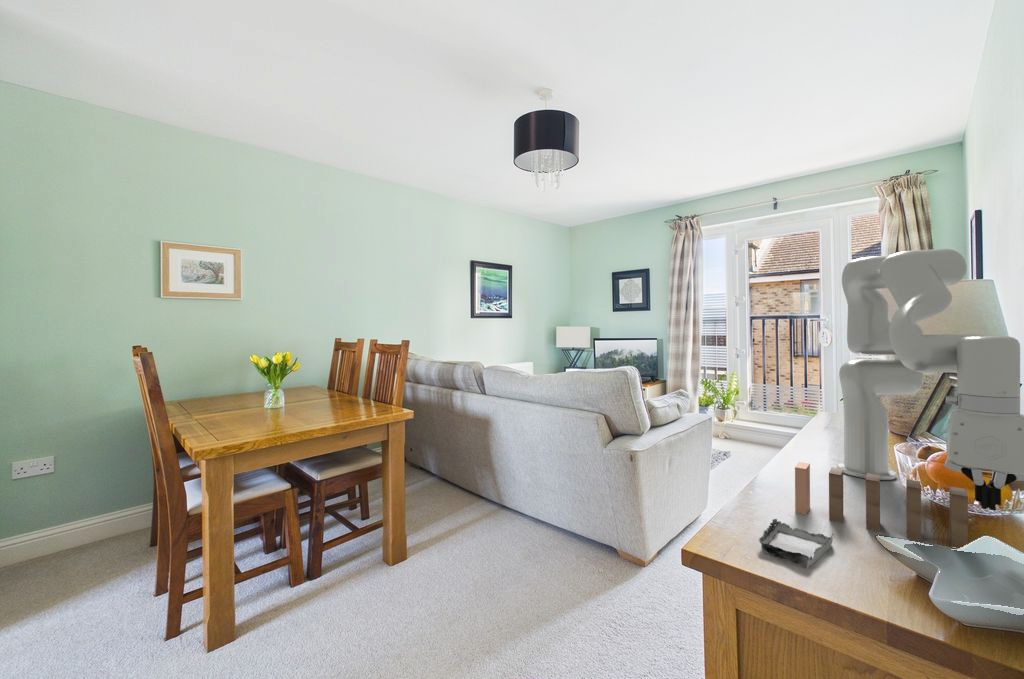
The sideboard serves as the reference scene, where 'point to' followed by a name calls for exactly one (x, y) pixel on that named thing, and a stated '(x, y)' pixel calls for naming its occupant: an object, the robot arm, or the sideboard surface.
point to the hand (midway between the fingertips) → (987, 506)
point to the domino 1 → (802, 488)
